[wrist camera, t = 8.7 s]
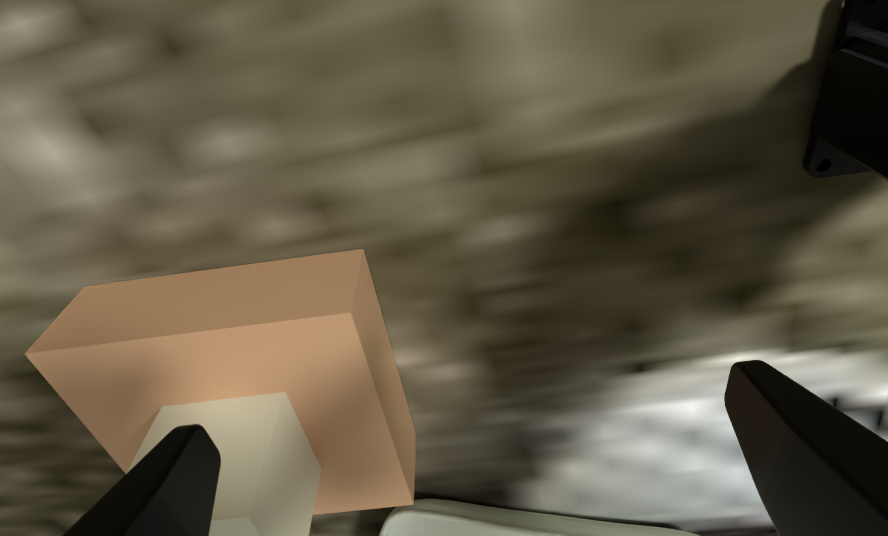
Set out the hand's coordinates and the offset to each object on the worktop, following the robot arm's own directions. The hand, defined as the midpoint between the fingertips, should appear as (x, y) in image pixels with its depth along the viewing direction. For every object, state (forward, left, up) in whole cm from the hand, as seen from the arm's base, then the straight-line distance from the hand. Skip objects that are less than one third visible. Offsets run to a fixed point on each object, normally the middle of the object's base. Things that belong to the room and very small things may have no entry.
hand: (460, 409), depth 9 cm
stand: (+10, +10, -12) cm, 19 cm away
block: (+10, +10, -8) cm, 16 cm away
